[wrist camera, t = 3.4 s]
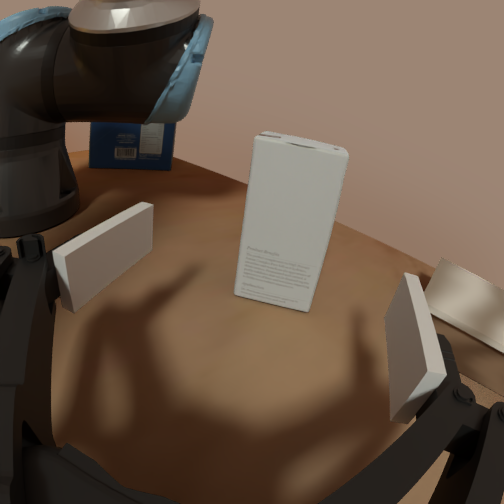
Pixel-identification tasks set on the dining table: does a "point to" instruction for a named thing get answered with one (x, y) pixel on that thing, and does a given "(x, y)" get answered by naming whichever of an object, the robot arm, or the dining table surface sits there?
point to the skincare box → (288, 218)
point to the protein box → (131, 145)
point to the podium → (469, 322)
